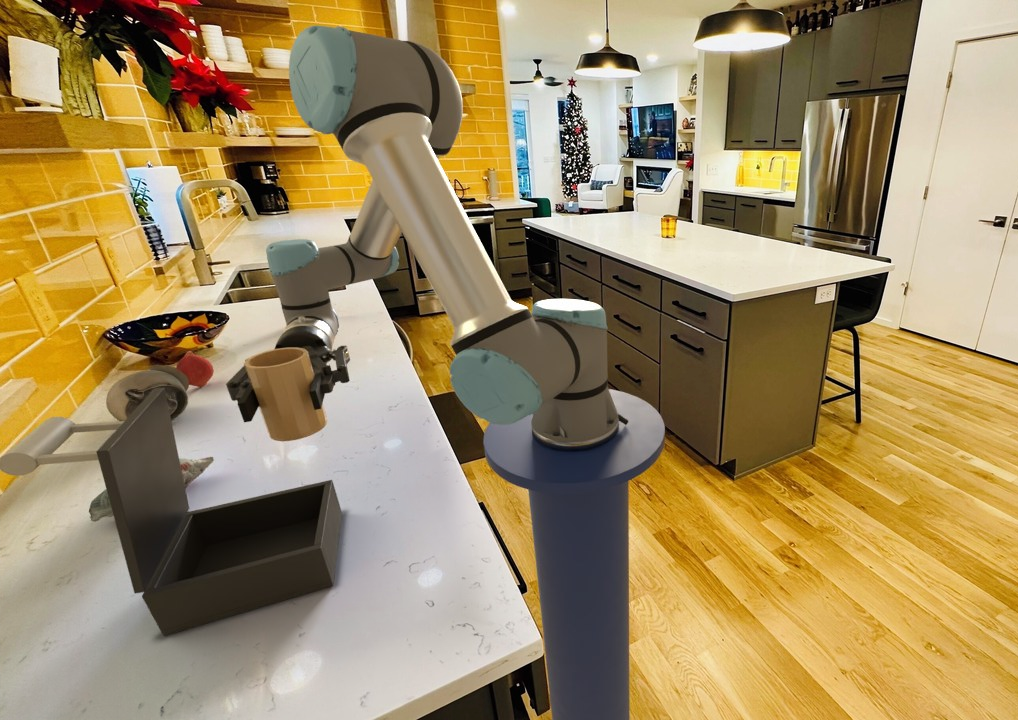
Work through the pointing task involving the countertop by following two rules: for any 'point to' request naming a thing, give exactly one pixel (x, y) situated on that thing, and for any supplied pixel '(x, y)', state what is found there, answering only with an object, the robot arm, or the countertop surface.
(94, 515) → the packaged food
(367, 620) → the countertop surface
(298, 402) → the cup
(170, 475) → the lid
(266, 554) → the grey lidded box
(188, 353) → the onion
